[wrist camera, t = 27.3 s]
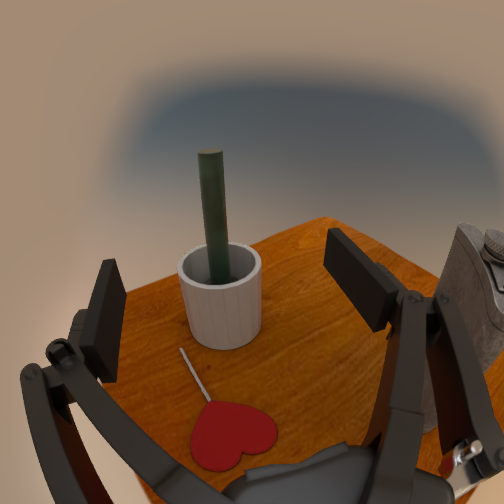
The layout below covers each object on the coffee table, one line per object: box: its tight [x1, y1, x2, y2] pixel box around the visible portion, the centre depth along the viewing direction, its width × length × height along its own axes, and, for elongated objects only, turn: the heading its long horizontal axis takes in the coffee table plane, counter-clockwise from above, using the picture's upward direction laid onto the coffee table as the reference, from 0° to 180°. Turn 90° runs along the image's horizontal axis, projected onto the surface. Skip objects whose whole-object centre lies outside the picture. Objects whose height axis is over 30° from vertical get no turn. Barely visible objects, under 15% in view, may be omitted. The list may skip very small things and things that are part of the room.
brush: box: [198, 149, 239, 285], centre depth 29 cm, size 5×5×20 cm
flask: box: [420, 222, 504, 433], centre depth 20 cm, size 4×14×18 cm, turn 158°
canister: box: [177, 241, 261, 350], centre depth 32 cm, size 9×9×9 cm
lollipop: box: [180, 348, 278, 472], centre depth 25 cm, size 8×1×15 cm
